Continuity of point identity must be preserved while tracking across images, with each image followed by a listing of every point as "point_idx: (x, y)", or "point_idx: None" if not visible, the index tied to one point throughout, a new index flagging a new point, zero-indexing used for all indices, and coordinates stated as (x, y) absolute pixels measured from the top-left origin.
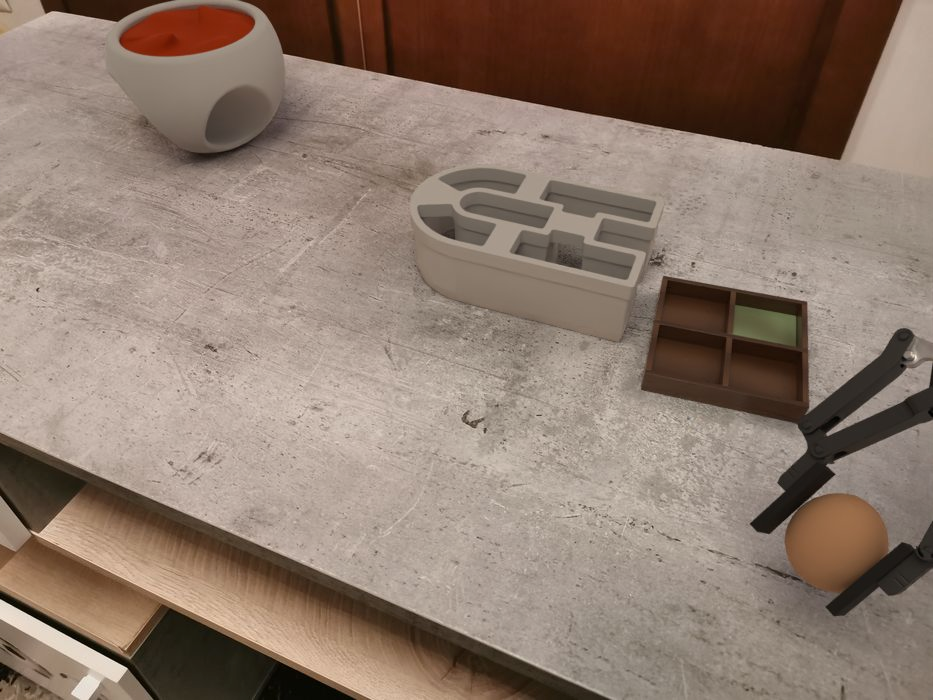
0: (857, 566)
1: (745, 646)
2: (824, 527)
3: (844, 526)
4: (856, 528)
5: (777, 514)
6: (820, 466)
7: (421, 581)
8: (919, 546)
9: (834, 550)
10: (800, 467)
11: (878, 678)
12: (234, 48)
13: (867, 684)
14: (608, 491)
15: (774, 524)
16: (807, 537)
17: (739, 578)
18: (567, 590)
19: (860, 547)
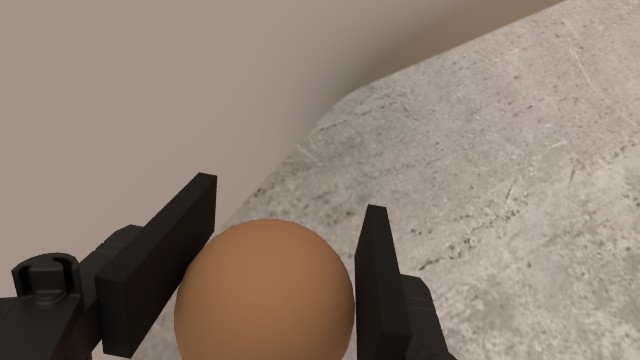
0: (204, 247)
1: None
2: (289, 239)
3: (258, 252)
4: (236, 267)
5: (369, 235)
6: (396, 328)
7: (513, 47)
8: (77, 294)
9: (250, 227)
10: (422, 321)
11: (161, 314)
12: None
13: None
14: (518, 252)
15: (360, 250)
16: (303, 229)
17: None
18: (438, 132)
19: (212, 255)
